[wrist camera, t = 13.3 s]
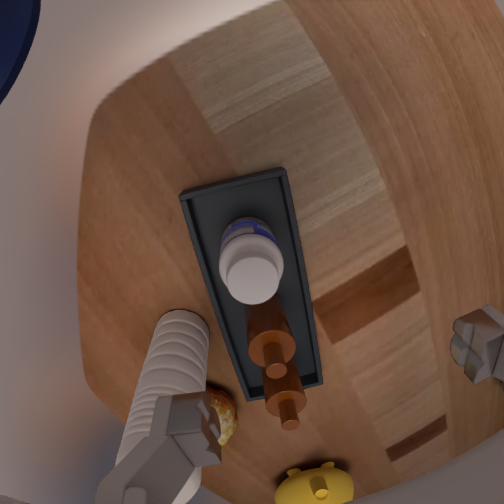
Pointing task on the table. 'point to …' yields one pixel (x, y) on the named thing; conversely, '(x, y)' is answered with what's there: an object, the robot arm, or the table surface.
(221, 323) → the tray
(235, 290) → the pill bottle
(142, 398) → the water bottle
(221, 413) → the fruit
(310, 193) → the table surface
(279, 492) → the teapot
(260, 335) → the amber bottle
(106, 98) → the table surface
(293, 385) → the amber bottle
